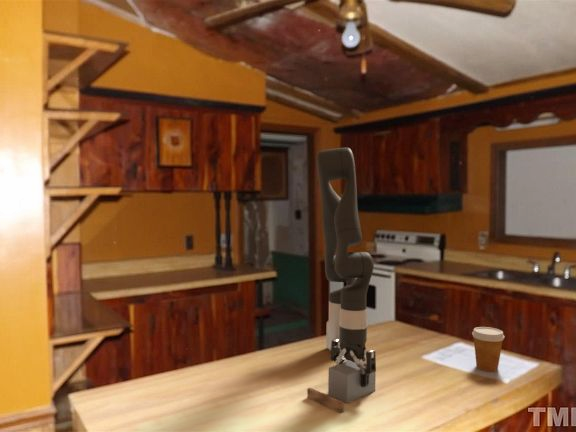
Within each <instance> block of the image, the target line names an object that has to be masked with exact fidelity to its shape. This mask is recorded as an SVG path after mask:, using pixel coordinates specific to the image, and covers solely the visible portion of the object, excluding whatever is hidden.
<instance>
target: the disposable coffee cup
mask: <svg viewBox="0 0 576 432" xmlns="http://www.w3.org/2000/svg"><path fill="white" fill-rule="evenodd" d="M471 334H472V337H473V343H474V344H473V345H474V355H475V365H476V368H477V369H479V370H481V371H484V372H496V371H498V370H499V364H500V359H501V352H502V348H503V347H502V346H503V341H504V339H505V335H504V331H503V330H500V329H499V328H496V327H495V328H494V327H491V326H490V327H489V326H488V327H487V326H478V327H474V328H473V331H472V332H471Z"/></svg>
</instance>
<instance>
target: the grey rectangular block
mask: <svg viewBox="0 0 576 432" xmlns="http://www.w3.org/2000/svg"><path fill="white" fill-rule="evenodd" d="M360 362H363V361H362V359H361V360H360ZM363 367H364V366H363ZM364 369H365V367H364ZM361 374H362V373H361V370H360V368H359V367H357V365H356V363H354V362H352V361H350V360H345V361H344V363H341V364H338V365H336V364H335V365H332V366H330V367H328V376H327V377H328V379H327V380H328V383H327V386H328V387H327V388H328V393H327V395H328V396H330V397H333V398H335V399H337V400H340V401H342V402H343V403H346V404H349V403H351V402H353V401H355V400H357V399H359V398H362V397H364V396H366V395H370V394H371V393H373V392H376V375H377V373H376V372H373V373H371V374H369V385H368V386H367V387H364V388H363V387H361Z"/></svg>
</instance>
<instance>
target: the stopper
mask: <svg viewBox="0 0 576 432" xmlns="http://www.w3.org/2000/svg"><path fill="white" fill-rule="evenodd" d="M306 391H307V393H306V394H307V396H306V398H307V399H309V400H312V401H313V402H316V403H319V404H320V405H322V406H324V407H327V408H329V409H331V410H334V411H335V412H338V413H339V414H342V413H344V402H343V401H341V400H339V399H336V398H334V397H332V396H329V395H328V394H325V393H324V392H321V391H319V390H316V389H314V388H312V387H307V389H306Z"/></svg>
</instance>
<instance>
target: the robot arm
mask: <svg viewBox="0 0 576 432" xmlns="http://www.w3.org/2000/svg"><path fill="white" fill-rule="evenodd" d="M316 171H317V177H318V178H317V179H318V184H319V192H320V204H321V222H322V233H323V240H324V241H323V242H324V271H325V273H324V274H325V278H326V280H327V281H329V282H333V283H334V282H335V283H346V284H345V286H343V287H341V288H340V289H336V290H333V291H331V292H330V293H329V295H328V320H327V321H326V331H325V332H326V336H325V338H326V341H325V343H326V346H325V348H326V349H328V350H329V352H330V361H331V362H334V363H335V365H338V364H341V363H344V362H346V361H349V360H350V361H352V362H354V363H356V365H357V367H359V368H360V370H361V373H362V374H361V387H363V388H364V387H367V386H368V385H369V374H371V373H373V372H376V371H377V363H376V362H377V361H376V350H375V349H371V350H370V349H367V347H366V343H367V338H368V335H367V332H368V314H367V294H368V290H369V286H370V282H371V278H372V275H373V272H374V267H375V265H374V264H375V263H374V259H373V257H372V256H371V254H370V253H369V252H367V251H353V252H352V251H350V252H349V248H351V247H355V246H358V245H359V244H361V243H362V240H363V234H362V230H361V229H362V228H361V223H360V217H359V209H358V192H357V191H358V189H357V187H358V186H357V175H356V164H355V157H354V153H353V151H352V149H351V148H350V147H338V148H330V149H329V148H328V149H322V150H319V151H318V152H317V153H316ZM344 179H345V187H344V189H343V190H344V191H343V193H342V195H341V197H340V196H339V195H338V194H337V193H336V191H335V190H334V189H333V186H332V185H331V182H330V181H335V180H336V181H337V180H344ZM361 359H362V361H363V362H360V360H361ZM363 366H364V367H365V369H364V367H363Z"/></svg>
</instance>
